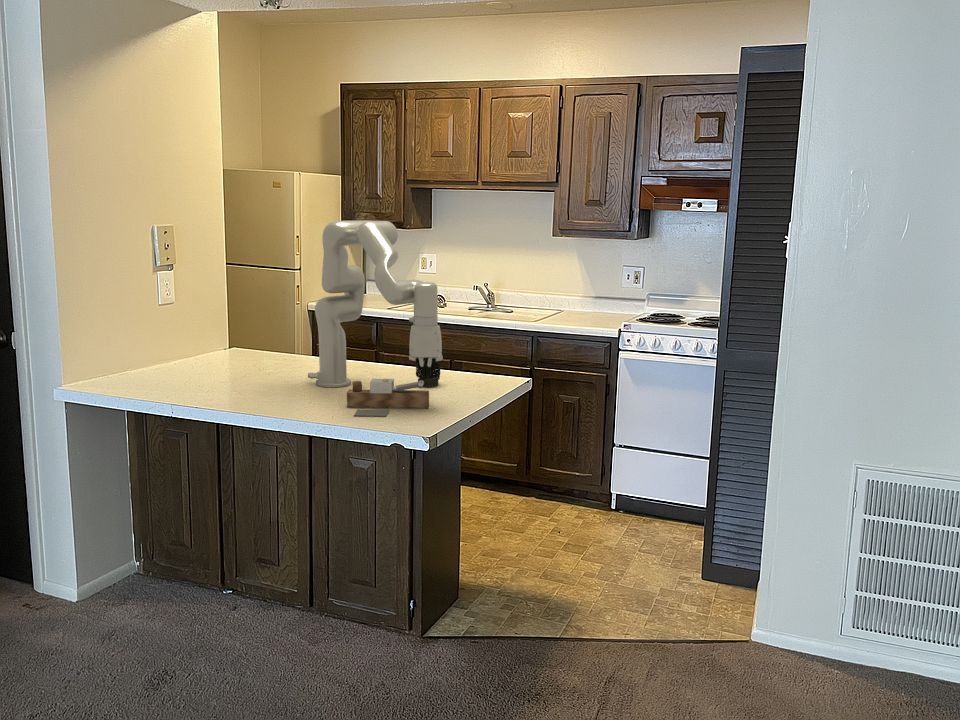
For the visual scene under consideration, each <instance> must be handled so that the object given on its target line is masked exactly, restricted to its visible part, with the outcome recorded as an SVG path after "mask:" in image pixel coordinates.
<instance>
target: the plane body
mask: <svg viewBox="0 0 960 720" xmlns="http://www.w3.org/2000/svg"><path fill="white" fill-rule="evenodd" d="M351 384H352V389H348V390H347V391H346V409H347V408H349V409H350V408H351V409H408V410H411V409H412V410H416V409H418V410H428V409H429V408H430V390H427V389H426V390H424V389H423V390H420V389H419V390H417V389H416V390H414V389H406V390H401V391H396V392H394V391H393V392H392V393H370V389H363V382H362V381H361V380H355V381H351Z"/></svg>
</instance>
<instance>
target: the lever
mask: <svg viewBox="0 0 960 720" xmlns="http://www.w3.org/2000/svg"><path fill="white" fill-rule="evenodd" d="M423 384H424V381H423V380H420V381H419V382H418V381H415V382H409V383H403V384H399V385H394V392H396V391H401V390H413V389H417V388H419V389H421V388H424V387H423Z"/></svg>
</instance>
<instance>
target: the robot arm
mask: <svg viewBox="0 0 960 720" xmlns="http://www.w3.org/2000/svg"><path fill="white" fill-rule="evenodd" d="M398 236H399V233H398V229H397V227H396V226H395V225H394V224H393V222H390V221H388V220H371V219H370V220H365V219H364V220H362V219H361V220H357V219H356V220H337V221H336V220H335V221H331V222H329V223H327V224H326V226H325V227H324V229H323V231H322V249H323V250H322V251H323V257H322V269H321V271H322V272H321V287H322V290H323V291H324V292H325V293H327V294H341V295H331V296H325V297H322V298H320V299H319V300H318V301H317V302H316V303H315V305H314V314H315V315H314V316H315V318H316V323H317V331H318V353H319V354H318V355H319V356H318V357H319V358H318V360H319V361H318V362H319V371H317V372H307V378H309V379H313V380H314V379H316V380H315V385H316V386H318V387H322V388H341V387H342V388H343V387H347V386H350V385H351V384H352V379H350V378H347V375H348V374H347V371H348V370H347V339H346V338H347V337H346V332H345V330H344V328H343V327H342V325H341V323H343V322H353V321H356V320H358V319H359V318H360V317H361V315H362V313H363V308H364V297H365V287H366V278H365V274H364V271H363V270H362V268H360V266H357V265H355V264H354V265H353V264H348V263H349V254H348V250H347V248H346V246H347V247H348V246H350V247H351V246H361V247H362V248H363V250H364V252H366V254H367V256H368V257H369V258H370V261H372V263H373V264H374V266H375V268H374V271H373V272H374V281H375V282H374V283H375V285H376V288H377V289H378V291H379V293H380V295H382V297H383V298H384V299H385V300H386V302H387V303H389V304H391V305H393V306H399V305H407V304H408V305H409V304H413V316H412V317H408V322H409V323H413V325H411V327H410V331H409V345H408V346H409V347H408V348H409V356H408V359H409V360H410V361H414V362H415V361H416V362H417V364H419V365H420V366H421V376H423V379H425V378H426V379H428V378H429V376H431V365H432V364H433V363H434V362H436V361H440V362H441V361H442V360H443V359H444V358H443V353H442V352H443V346H442V345H443V342H442V331H441V327H440V325H438V323H439V322H438V317H439V316H438V313H439V312H438V310H439V309H438V285H437V284H436V283H435V282H430V281H422V280H419V279H403V280H395V279H394V278H393V276H392V274H391V273H390V271H389V269H390V268H391V267H393V266H394V265H395V264H396V262H397V261H398V259H399V253H398V250H397V249H396V248H395V247H394V245H395V244H396V242H397V241H398ZM343 293H344V294H343ZM342 294H343V295H342ZM424 358H428V363H427V366H425V365H426V364H425V363H424Z"/></svg>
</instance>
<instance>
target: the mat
mask: <svg viewBox="0 0 960 720" xmlns="http://www.w3.org/2000/svg"><path fill="white" fill-rule="evenodd" d="M389 412H390V410H389V409H357V410H356V411H355V412H354V414H353V417H356V418H357V417H358V418H360V417H363V418H365V417H366V418H370V417H371V418H387V416H388V415H389Z"/></svg>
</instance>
